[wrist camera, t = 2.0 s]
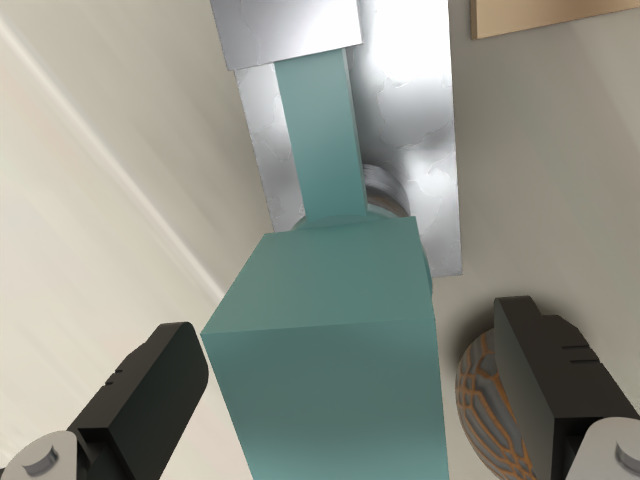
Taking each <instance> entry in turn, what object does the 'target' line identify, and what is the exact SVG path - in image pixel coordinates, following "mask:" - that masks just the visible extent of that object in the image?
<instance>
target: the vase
mask: <svg viewBox="0 0 640 480" xmlns="http://www.w3.org/2000/svg"><path fill="white" fill-rule="evenodd" d="M455 395H456V404H457V410H458V414H459V418H460V422H461V425H462V427H463V430H464V432H465V434H466V436H467V438H468V440H469V442H470V444H471V446H472V447H473V449H474V451H475V452H476V454H477V455H478V456H479V458H480V459H481V461H482V462H483V463H484V464H485V465H486V467H487V468H488V469H489V470H490V471H491V472H492V473H493V474H494V475H495V476H497V477H498V478H499V479H500V480H538V479H537V477H536V474H535V471H534V468H533V466H532V463H531V460H530V458H529V455H528V452H527V449H526V447H525V444H524V441H523V438H522V436H521V433H520V430H519V428H518V425H517V422H516V419H515V417H514V414H513V411H512V409H511V406H510V403H509V400H508V398H507V395H506V392H505V389H504V387H503V384H502V381H501V379H500V376H499V373H498V369H497V364H496V358H495V346H494V328H492V329H490V330H488V331H486V332H484V333H483V334H481V335H480V336H479V337H477V338H476V339H475V340H474V341H473V342H472V343H471V344H470V345H469V346H468V347H467V349H466V350H465V352H464V354H463V356H462V358H461V360H460V363H459V366H458V370H457V374H456V382H455Z"/></svg>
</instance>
